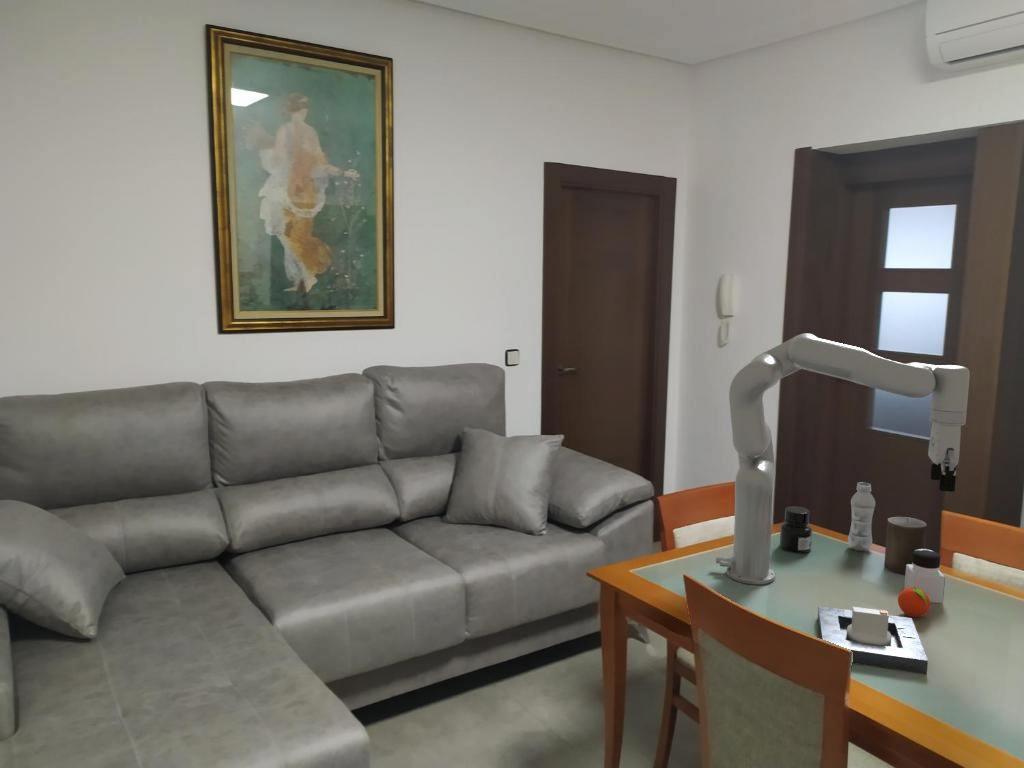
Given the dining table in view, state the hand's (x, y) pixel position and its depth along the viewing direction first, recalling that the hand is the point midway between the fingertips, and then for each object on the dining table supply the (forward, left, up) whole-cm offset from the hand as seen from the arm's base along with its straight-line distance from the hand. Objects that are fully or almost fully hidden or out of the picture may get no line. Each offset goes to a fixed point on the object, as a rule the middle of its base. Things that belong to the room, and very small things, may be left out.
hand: (942, 485), depth 186 cm
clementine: (-6, -11, -30) cm, 33 cm away
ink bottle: (-32, +27, -30) cm, 52 cm away
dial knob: (-18, -29, -29) cm, 44 cm away
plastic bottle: (-14, +32, -30) cm, 46 cm away
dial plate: (-18, -29, -30) cm, 45 cm away
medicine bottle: (-2, +2, -30) cm, 31 cm away
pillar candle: (-4, +20, -30) cm, 37 cm away
